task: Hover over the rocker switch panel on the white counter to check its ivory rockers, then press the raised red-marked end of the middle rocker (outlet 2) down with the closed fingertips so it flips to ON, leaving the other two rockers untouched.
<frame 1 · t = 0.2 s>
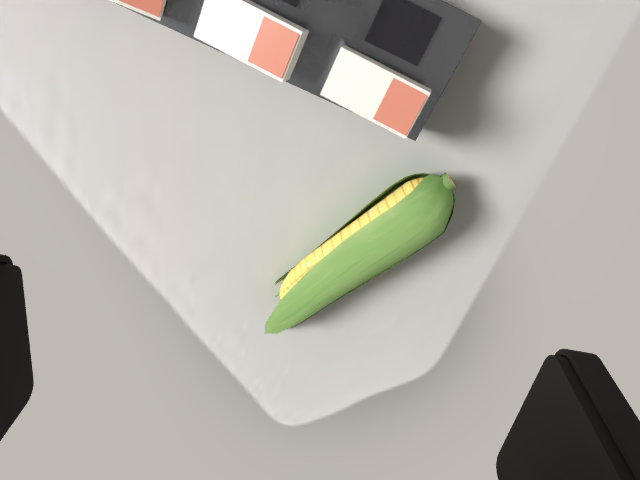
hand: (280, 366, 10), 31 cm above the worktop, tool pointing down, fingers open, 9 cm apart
rocker 2: (250, 33, 31), point 6 cm above the worktop, hinge at 12.0°
rocker 3: (375, 92, 32), point 6 cm above the worktop, hinge at 12.0°
edible corn: (345, 243, 44), on the worktop
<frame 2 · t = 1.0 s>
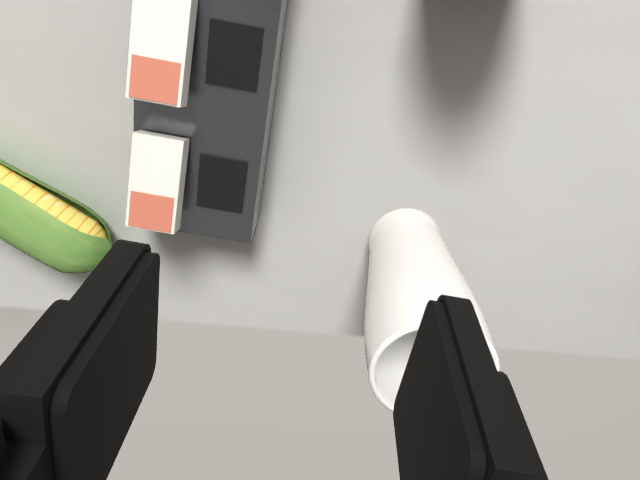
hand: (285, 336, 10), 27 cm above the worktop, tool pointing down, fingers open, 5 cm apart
rocker switch panel: (219, 40, 34), on the worktop
drinking glass: (403, 235, 40), on the worktop
rocker 2: (161, 47, 29), point 6 cm above the worktop, hinge at 12.0°
rocker 3: (157, 182, 33), point 6 cm above the worktop, hinge at 12.0°
edible corn: (3, 172, 39), on the worktop
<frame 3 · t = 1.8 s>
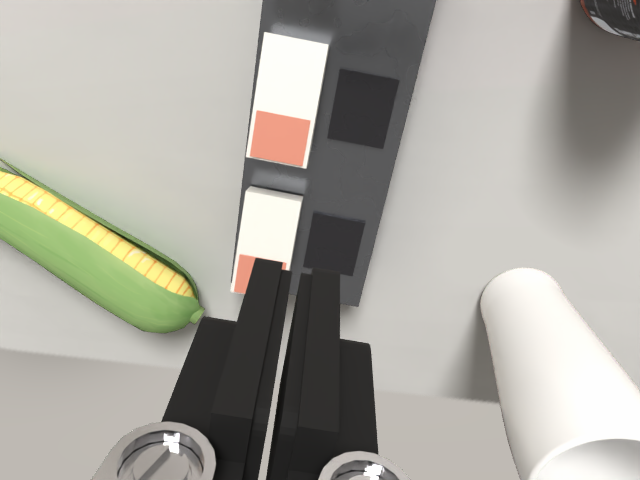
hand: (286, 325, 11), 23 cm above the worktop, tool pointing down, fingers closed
rocker switch panel: (333, 86, 31), on the worktop
drinking glass: (517, 295, 36), on the worktop
rocker 2: (287, 102, 26), point 6 cm above the worktop, hinge at 12.0°
rocker 3: (266, 244, 30), point 6 cm above the worktop, hinge at 12.0°
edible corn: (85, 220, 37), on the worktop
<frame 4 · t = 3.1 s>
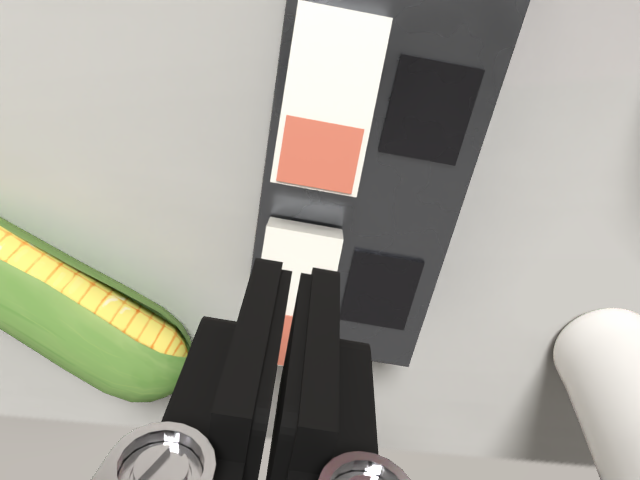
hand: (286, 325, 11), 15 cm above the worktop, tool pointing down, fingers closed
rocker switch panel: (378, 80, 23), on the worktop
drinking glass: (598, 340, 29), on the worktop
rocker 2: (328, 102, 18), point 6 cm above the worktop, hinge at 12.0°
rocker 3: (293, 295, 22), point 6 cm above the worktop, hinge at 12.0°
edible corn: (46, 255, 29), on the worktop
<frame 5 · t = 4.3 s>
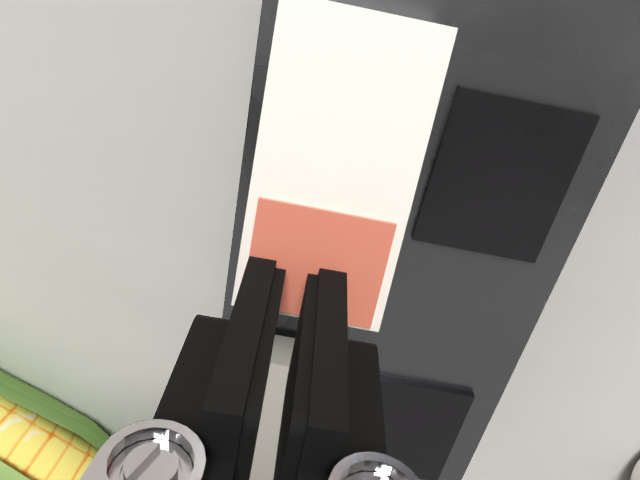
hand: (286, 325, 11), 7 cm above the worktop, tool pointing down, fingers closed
rocker switch panel: (406, 116, 15), on the worktop
rocker 2: (334, 171, 10), point 6 cm above the worktop, hinge at 9.3°, touching gripper
rocker 3: (274, 449, 14), point 6 cm above the worktop, hinge at 12.0°
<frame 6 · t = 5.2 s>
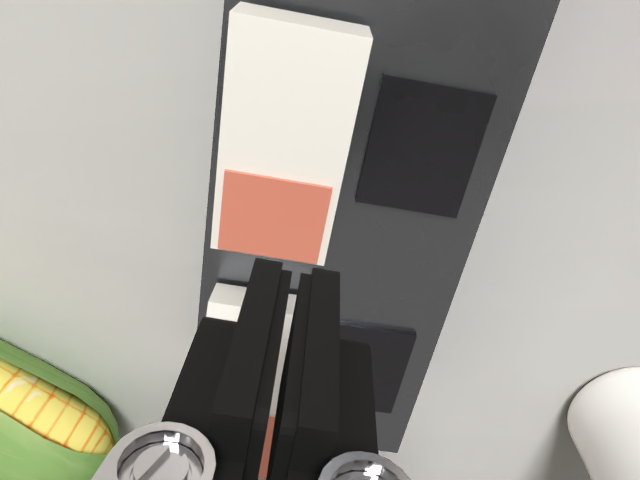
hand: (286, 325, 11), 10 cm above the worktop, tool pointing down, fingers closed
rocker switch panel: (354, 101, 18), on the worktop
drinking glass: (619, 400, 25), on the worktop
rocker 2: (284, 144, 13), point 6 cm above the worktop, hinge at -2.6°
rocker 3: (248, 383, 17), point 6 cm above the worktop, hinge at 12.0°
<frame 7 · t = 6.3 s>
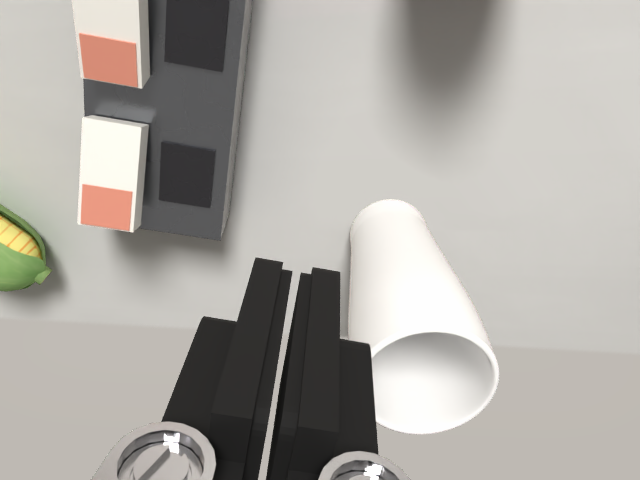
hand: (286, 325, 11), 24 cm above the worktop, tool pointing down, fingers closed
rocker switch panel: (180, 14, 30), on the worktop
drinking glass: (386, 229, 37), on the worktop
rocker 2: (111, 20, 25), point 6 cm above the worktop, hinge at -11.7°
rocker 3: (112, 174, 29), point 6 cm above the worktop, hinge at 12.0°
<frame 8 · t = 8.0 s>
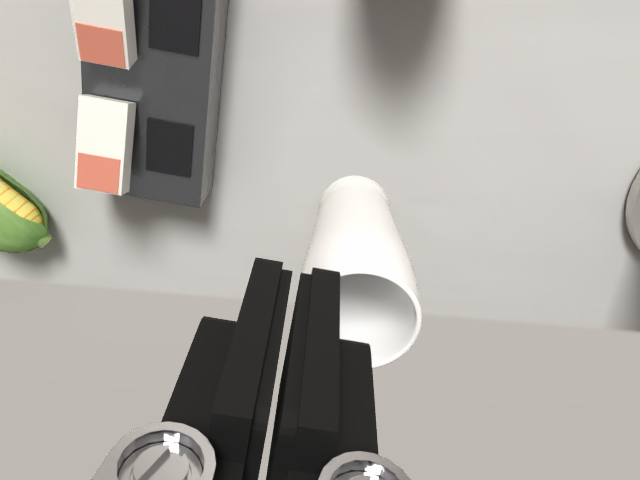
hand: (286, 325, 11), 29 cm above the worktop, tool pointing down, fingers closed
rocker switch panel: (166, 9, 35), on the worktop
drinking glass: (354, 203, 41), on the worktop
rocker 2: (102, 11, 30), point 6 cm above the worktop, hinge at -14.9°
rocker 3: (104, 145, 34), point 6 cm above the worktop, hinge at 12.0°
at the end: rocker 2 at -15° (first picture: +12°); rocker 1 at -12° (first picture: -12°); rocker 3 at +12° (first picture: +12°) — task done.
